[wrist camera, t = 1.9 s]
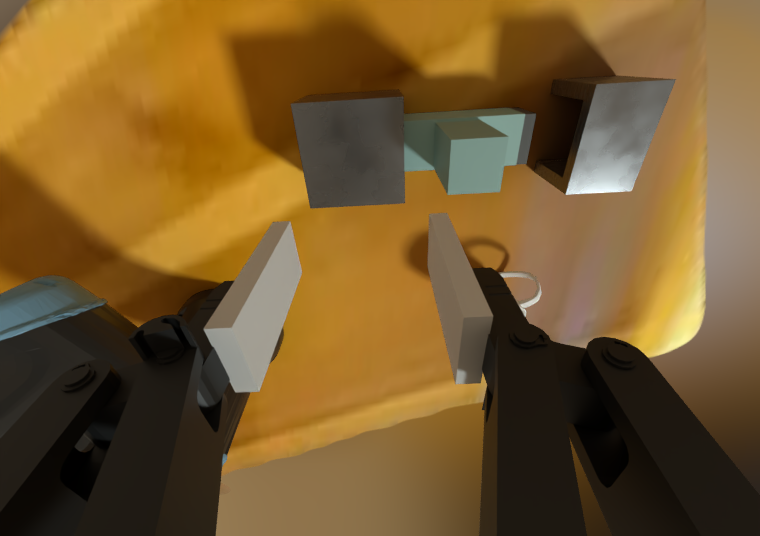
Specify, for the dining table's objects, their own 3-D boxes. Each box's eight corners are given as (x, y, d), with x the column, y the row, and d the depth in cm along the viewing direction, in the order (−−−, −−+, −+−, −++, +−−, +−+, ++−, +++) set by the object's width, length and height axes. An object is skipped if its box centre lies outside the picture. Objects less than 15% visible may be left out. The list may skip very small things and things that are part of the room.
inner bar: (318, 164, 35) (294, 206, 25) (311, 119, 32) (281, 146, 22) (510, 153, 34) (565, 191, 24) (517, 106, 32) (582, 128, 22)
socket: (533, 171, 35) (565, 194, 29) (553, 79, 30) (596, 84, 24) (588, 168, 35) (631, 190, 29) (616, 75, 30) (675, 79, 24)
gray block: (321, 183, 36) (310, 208, 30) (307, 95, 31) (290, 103, 25) (400, 179, 36) (404, 203, 30) (398, 89, 31) (403, 96, 25)
